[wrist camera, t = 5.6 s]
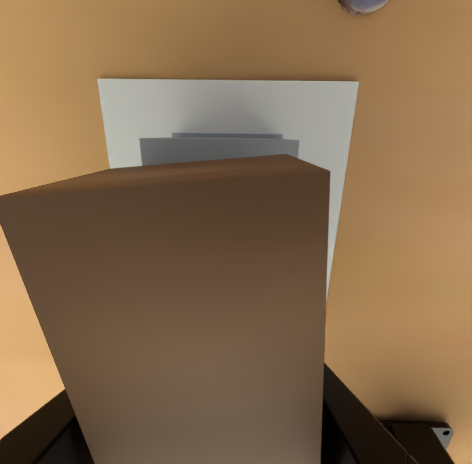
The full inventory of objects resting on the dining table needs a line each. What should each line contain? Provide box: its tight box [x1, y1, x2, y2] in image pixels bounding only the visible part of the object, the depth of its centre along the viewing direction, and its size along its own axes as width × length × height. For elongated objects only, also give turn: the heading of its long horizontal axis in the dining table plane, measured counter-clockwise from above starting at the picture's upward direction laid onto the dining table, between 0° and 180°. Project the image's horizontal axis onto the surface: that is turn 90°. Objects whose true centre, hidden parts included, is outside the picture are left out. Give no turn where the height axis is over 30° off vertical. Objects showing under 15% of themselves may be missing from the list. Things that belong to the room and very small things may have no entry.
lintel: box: [0, 154, 330, 464], centre depth 8 cm, size 12×5×4 cm, turn 5°
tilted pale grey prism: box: [139, 137, 300, 166], centre depth 12 cm, size 5×5×5 cm
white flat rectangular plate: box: [97, 79, 359, 301], centre depth 15 cm, size 18×12×1 cm, turn 179°
